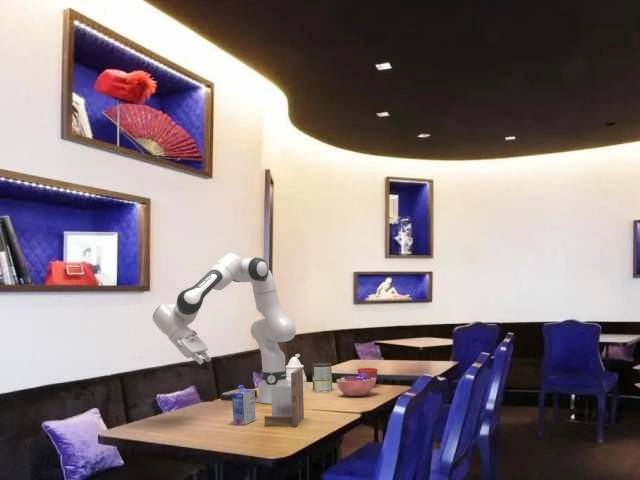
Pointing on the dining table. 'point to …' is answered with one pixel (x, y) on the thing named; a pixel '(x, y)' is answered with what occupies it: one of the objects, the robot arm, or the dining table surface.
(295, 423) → the walnut shelf
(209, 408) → the dining table surface
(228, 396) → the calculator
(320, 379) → the coffee can
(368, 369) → the flower pot
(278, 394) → the steel bookend
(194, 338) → the robot arm
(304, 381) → the honey pot
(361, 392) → the cell model
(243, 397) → the ink cartridge box
